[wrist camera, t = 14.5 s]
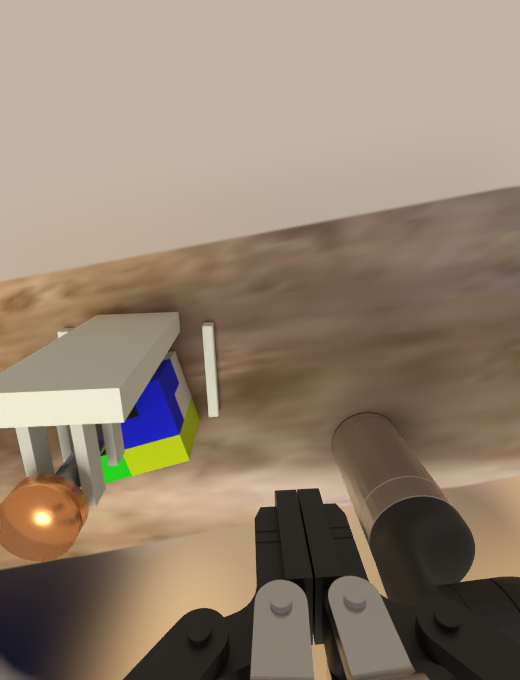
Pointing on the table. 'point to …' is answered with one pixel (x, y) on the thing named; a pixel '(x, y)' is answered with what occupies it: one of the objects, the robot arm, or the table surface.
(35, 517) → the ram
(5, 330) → the table surface
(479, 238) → the table surface
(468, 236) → the table surface
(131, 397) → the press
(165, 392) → the puzzle toy
